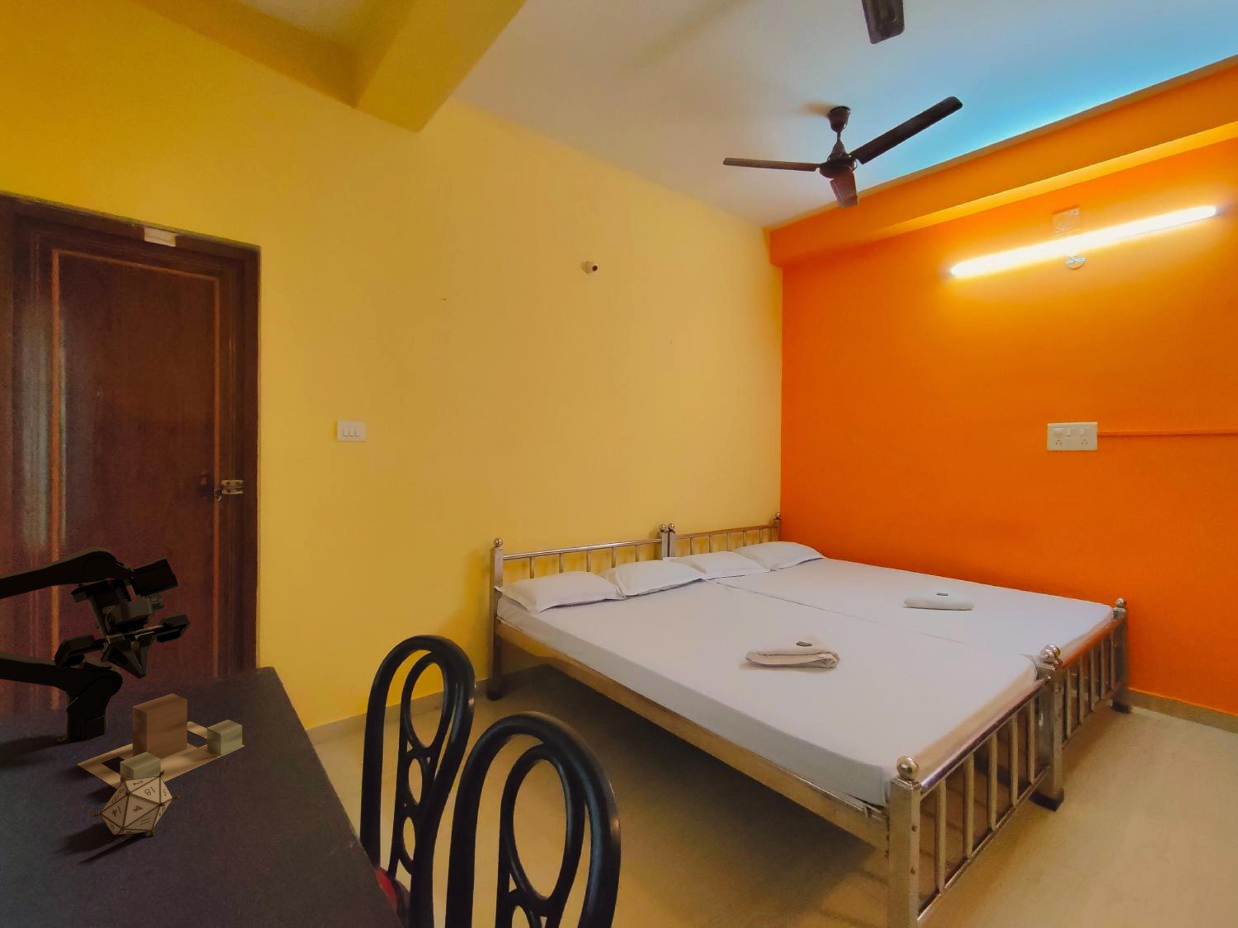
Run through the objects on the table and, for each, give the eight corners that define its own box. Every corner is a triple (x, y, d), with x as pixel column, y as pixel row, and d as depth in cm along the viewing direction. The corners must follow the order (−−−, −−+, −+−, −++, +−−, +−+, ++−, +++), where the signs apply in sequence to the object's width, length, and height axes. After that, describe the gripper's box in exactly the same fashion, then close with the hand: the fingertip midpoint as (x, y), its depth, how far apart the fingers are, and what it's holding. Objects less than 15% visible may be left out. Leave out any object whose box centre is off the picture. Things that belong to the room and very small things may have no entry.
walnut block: (132, 756, 97) (132, 706, 97) (172, 741, 103) (172, 693, 102) (146, 764, 95) (146, 713, 95) (187, 748, 100) (187, 699, 100)
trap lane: (77, 770, 95) (76, 740, 95) (190, 727, 110) (190, 701, 110) (130, 804, 86) (130, 771, 86) (245, 751, 102) (245, 724, 101)
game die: (138, 865, 79) (114, 839, 73) (94, 835, 80) (67, 807, 75) (198, 803, 86) (181, 775, 80) (156, 777, 88) (137, 747, 82)
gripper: (60, 593, 95) (90, 670, 90) (185, 572, 111) (216, 636, 107) (41, 631, 99) (69, 706, 94) (165, 605, 115) (194, 668, 111)
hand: (143, 676), depth 101 cm, fingers closed
